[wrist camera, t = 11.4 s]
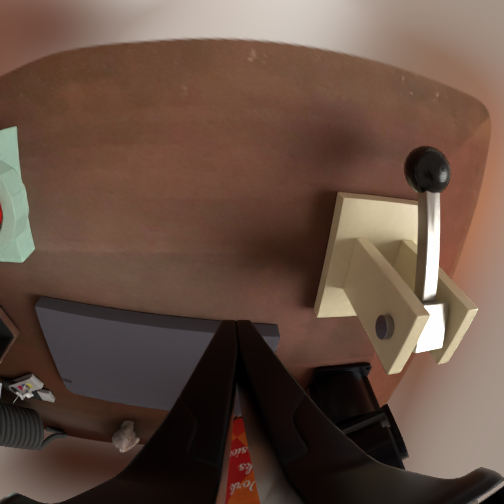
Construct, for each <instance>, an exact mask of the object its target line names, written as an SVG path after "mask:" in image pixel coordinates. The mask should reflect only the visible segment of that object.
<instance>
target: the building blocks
mask: <svg viewBox="0 0 504 504" xmlns="http://www.w3.org/2000/svg"><path fill="white" fill-rule="evenodd" d="M2 387H3V383H1V382H0V401H1V394H2Z"/></svg>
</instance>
